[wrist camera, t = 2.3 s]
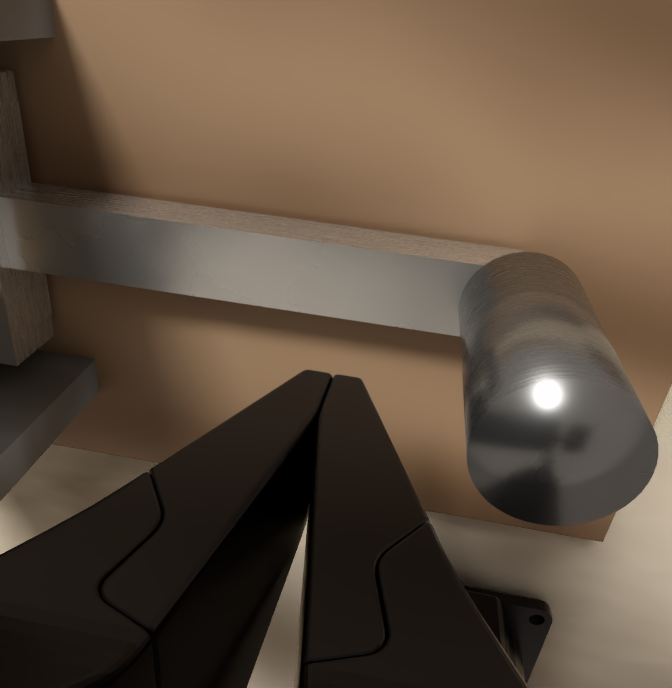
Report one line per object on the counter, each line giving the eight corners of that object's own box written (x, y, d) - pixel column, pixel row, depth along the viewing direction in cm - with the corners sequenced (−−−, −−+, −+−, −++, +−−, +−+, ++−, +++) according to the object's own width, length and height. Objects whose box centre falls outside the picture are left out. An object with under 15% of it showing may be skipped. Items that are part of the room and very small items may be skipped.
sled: (534, 411, 14) (583, 625, 9) (-166, 298, 16) (-442, 430, 11) (618, 143, 11) (755, 250, 6) (-259, 37, 13) (-697, 56, 8)
